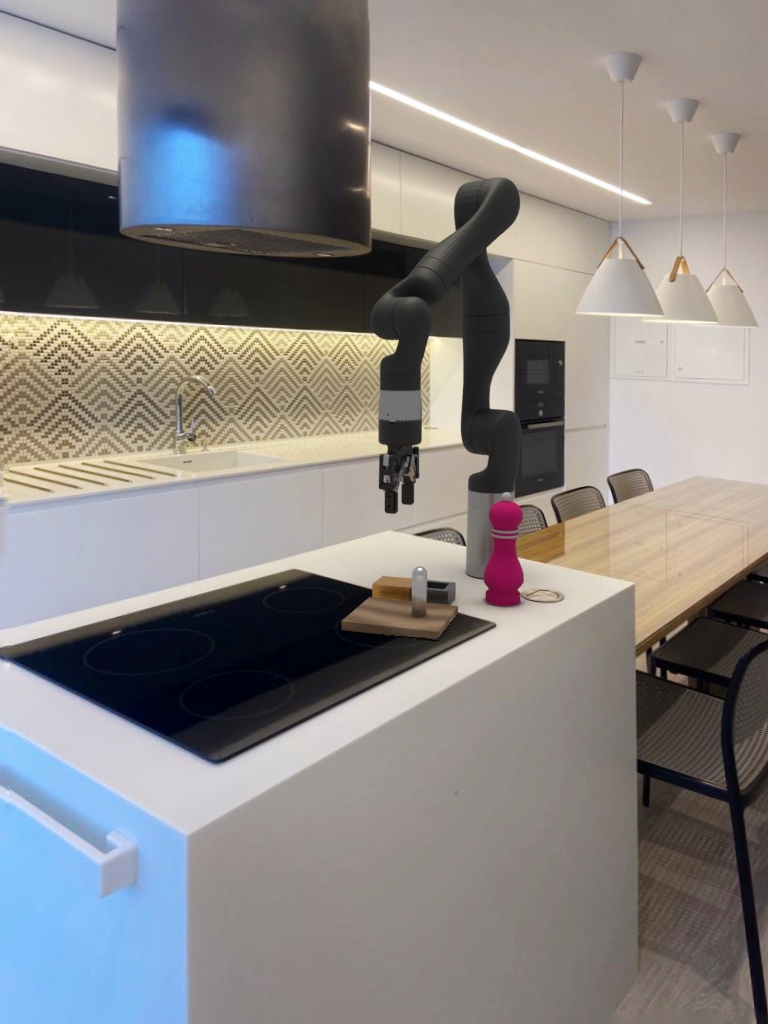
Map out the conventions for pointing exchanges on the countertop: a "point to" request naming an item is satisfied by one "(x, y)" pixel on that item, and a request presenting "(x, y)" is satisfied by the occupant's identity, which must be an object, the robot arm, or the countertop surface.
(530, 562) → the countertop surface
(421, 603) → the post
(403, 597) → the link
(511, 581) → the pepper mill
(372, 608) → the board
